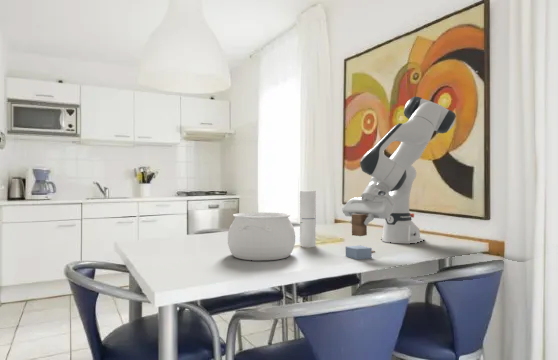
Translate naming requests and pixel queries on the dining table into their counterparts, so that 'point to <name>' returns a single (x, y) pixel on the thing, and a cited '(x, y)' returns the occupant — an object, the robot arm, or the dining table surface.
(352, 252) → the slate block
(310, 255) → the dining table surface
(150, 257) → the dining table surface
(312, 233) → the cylindrical container
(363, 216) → the walnut block
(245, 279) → the dining table surface
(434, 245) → the dining table surface
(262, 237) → the pot
